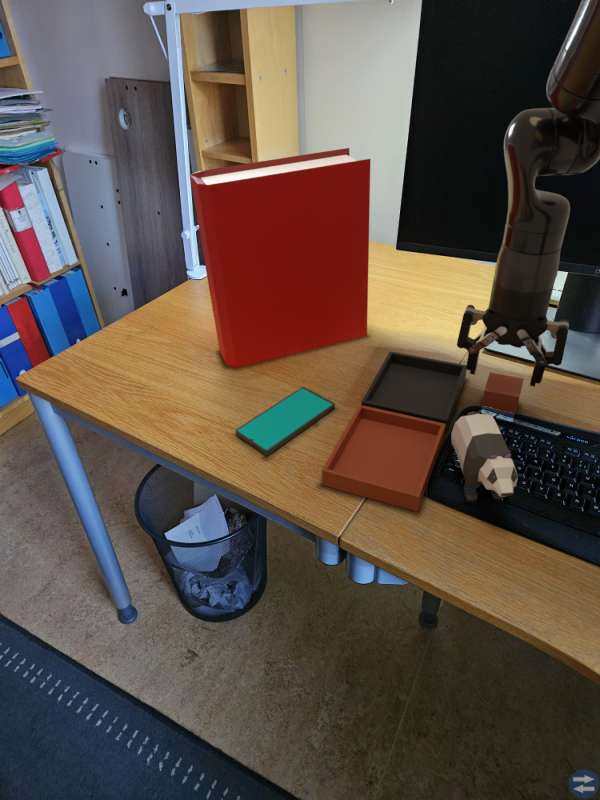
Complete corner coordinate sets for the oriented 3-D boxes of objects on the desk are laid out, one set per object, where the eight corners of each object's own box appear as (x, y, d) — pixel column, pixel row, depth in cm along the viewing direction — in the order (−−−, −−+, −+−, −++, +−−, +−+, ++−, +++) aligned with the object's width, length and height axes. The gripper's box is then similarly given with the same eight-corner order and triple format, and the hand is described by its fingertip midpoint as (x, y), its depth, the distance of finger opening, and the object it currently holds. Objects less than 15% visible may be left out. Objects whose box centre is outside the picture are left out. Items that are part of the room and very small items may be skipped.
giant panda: (446, 452, 80) (453, 399, 74) (484, 449, 80) (495, 396, 74) (476, 533, 68) (487, 478, 62) (521, 530, 68) (537, 475, 62)
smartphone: (335, 403, 89) (266, 452, 81) (335, 407, 89) (267, 456, 81) (302, 386, 93) (234, 430, 85) (302, 390, 94) (234, 434, 85)
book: (349, 316, 113) (349, 147, 93) (366, 335, 107) (370, 158, 87) (218, 347, 106) (188, 172, 87) (228, 369, 100) (199, 186, 80)
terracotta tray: (444, 438, 82) (446, 423, 81) (417, 512, 72) (419, 497, 70) (359, 418, 87) (359, 404, 85) (322, 485, 76) (321, 470, 74)
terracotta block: (517, 404, 88) (523, 378, 85) (513, 423, 84) (519, 397, 81) (485, 397, 89) (489, 372, 86) (479, 416, 86) (484, 390, 83)
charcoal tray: (465, 379, 94) (467, 365, 92) (445, 434, 83) (447, 420, 81) (389, 364, 98) (389, 351, 97) (360, 415, 88) (361, 401, 86)
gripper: (463, 281, 73) (449, 381, 83) (582, 297, 68) (551, 402, 78) (473, 258, 78) (459, 355, 88) (584, 272, 73) (555, 373, 83)
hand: (502, 377), depth 83 cm, fingers open, 8 cm apart
